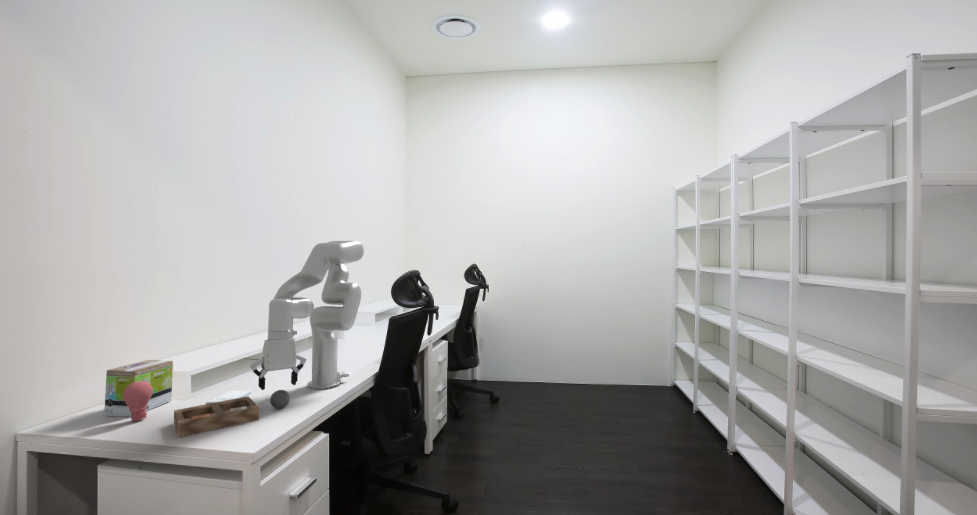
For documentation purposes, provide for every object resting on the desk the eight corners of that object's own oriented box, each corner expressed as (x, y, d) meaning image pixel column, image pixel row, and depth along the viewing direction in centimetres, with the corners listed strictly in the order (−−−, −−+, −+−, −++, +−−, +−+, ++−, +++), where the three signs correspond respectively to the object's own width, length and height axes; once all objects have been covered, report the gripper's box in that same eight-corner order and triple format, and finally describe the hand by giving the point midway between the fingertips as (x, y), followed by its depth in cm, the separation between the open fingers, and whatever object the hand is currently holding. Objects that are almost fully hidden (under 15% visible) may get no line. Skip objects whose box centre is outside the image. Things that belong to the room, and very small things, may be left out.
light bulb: (116, 422, 124) (117, 383, 124) (143, 414, 131) (144, 377, 131) (131, 426, 121) (131, 386, 122) (157, 418, 128) (158, 379, 128)
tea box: (133, 417, 128) (134, 370, 129) (103, 416, 129) (104, 369, 129) (173, 401, 144) (173, 359, 144) (146, 400, 144) (146, 358, 144)
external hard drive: (250, 395, 152) (228, 406, 140) (229, 394, 152) (205, 406, 140) (250, 390, 152) (228, 402, 140) (229, 390, 152) (205, 401, 140)
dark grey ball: (286, 403, 142) (286, 386, 142) (292, 408, 138) (292, 390, 138) (267, 407, 138) (267, 389, 138) (272, 412, 134) (272, 394, 134)
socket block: (248, 408, 137) (248, 395, 138) (258, 419, 128) (258, 405, 128) (173, 423, 124) (173, 409, 124) (178, 437, 114) (179, 422, 114)
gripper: (303, 332, 147) (301, 380, 146) (248, 336, 135) (246, 388, 134) (310, 334, 141) (308, 384, 140) (254, 339, 129) (252, 393, 128)
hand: (278, 386), depth 137 cm, fingers open, 9 cm apart
